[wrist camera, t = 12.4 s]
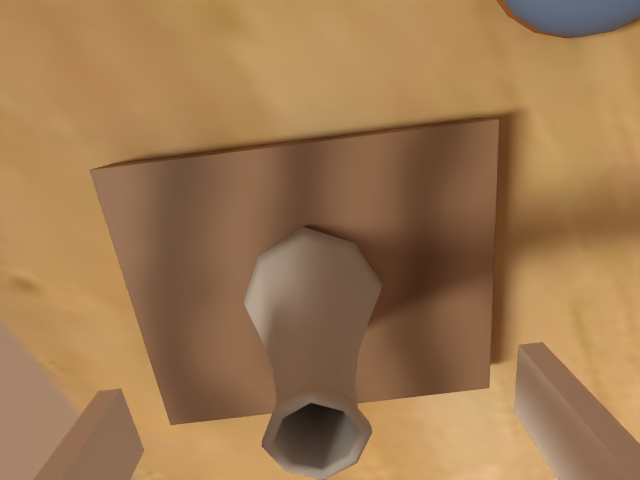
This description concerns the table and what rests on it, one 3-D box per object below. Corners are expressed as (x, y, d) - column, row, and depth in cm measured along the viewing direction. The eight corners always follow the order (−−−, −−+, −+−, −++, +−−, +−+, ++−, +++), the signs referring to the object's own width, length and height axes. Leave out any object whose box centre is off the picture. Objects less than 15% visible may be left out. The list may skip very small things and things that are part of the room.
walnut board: (481, 118, 20) (499, 119, 18) (475, 367, 25) (489, 387, 23) (109, 164, 20) (89, 170, 18) (180, 401, 26) (170, 425, 24)
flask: (404, 278, 21) (485, 419, 11) (324, 367, 23) (336, 552, 13) (299, 201, 19) (290, 289, 10) (221, 302, 21) (150, 461, 12)
